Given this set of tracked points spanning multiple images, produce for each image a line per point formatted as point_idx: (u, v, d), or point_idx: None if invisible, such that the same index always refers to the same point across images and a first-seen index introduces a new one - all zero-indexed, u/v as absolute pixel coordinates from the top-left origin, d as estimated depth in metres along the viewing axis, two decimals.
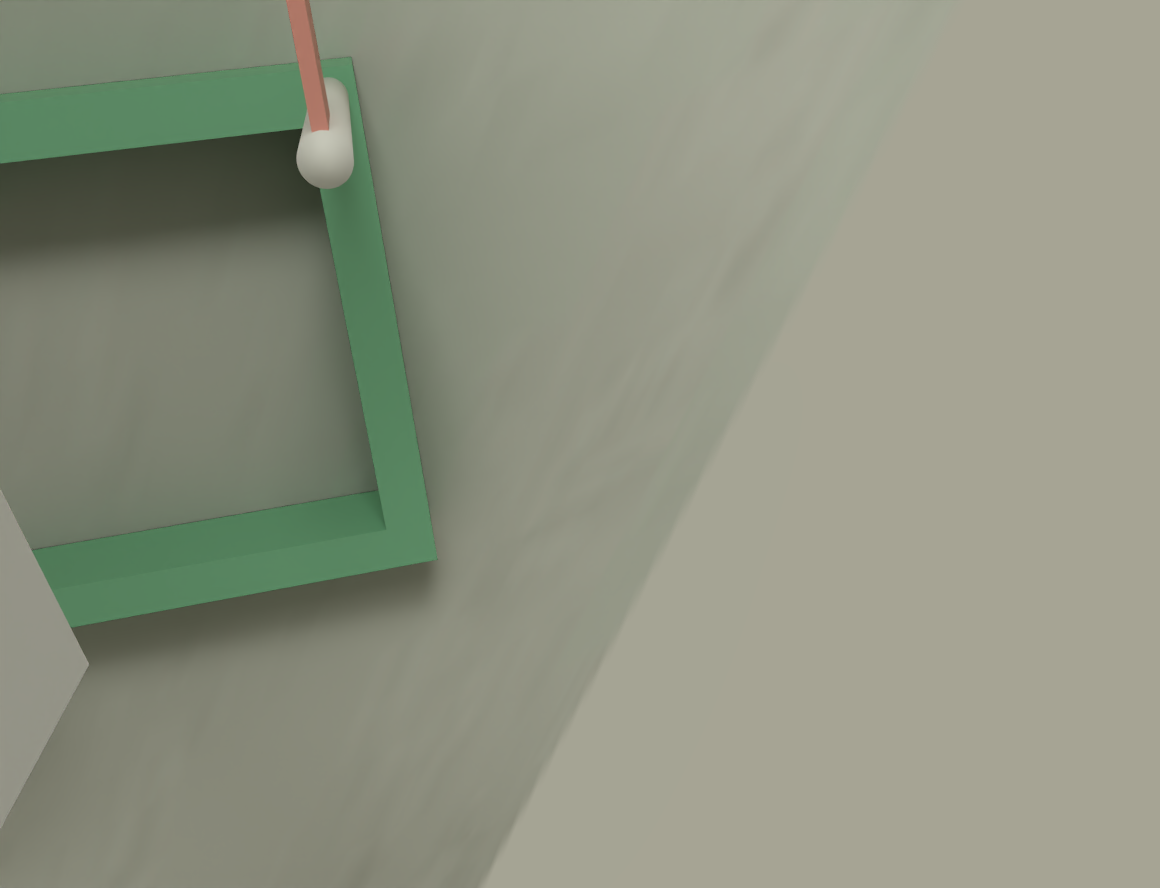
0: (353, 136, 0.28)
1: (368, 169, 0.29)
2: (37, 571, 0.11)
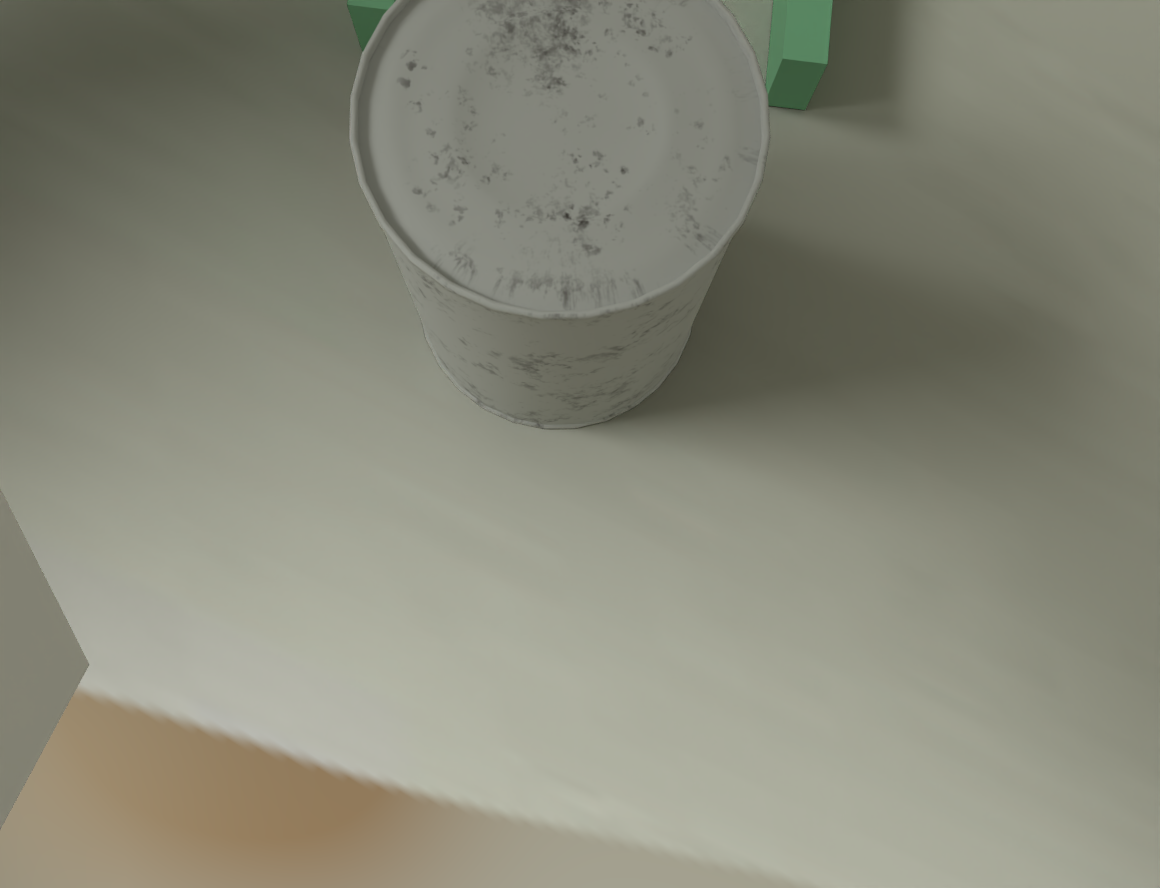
0: None
1: None
2: (37, 570, 0.11)
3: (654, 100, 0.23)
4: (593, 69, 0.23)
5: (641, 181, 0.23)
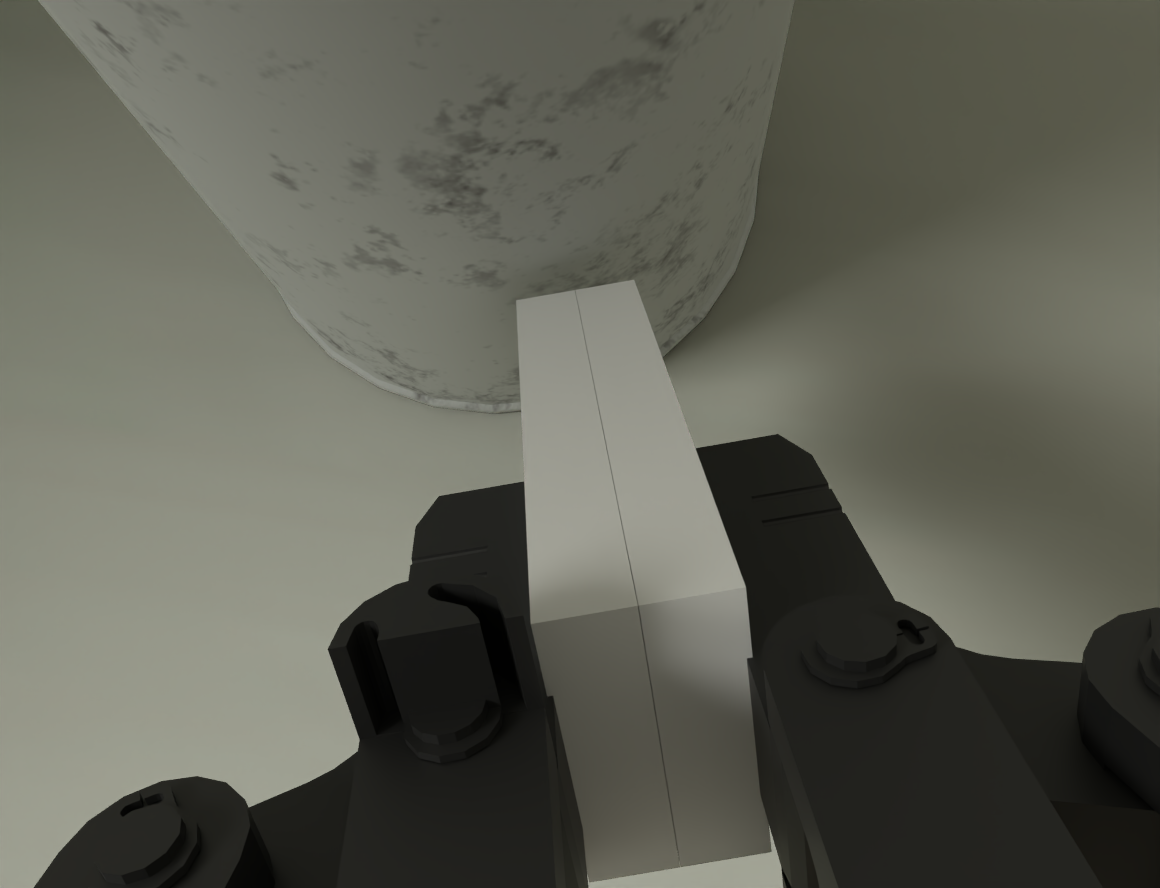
0: None
1: None
2: None
3: None
4: None
5: None
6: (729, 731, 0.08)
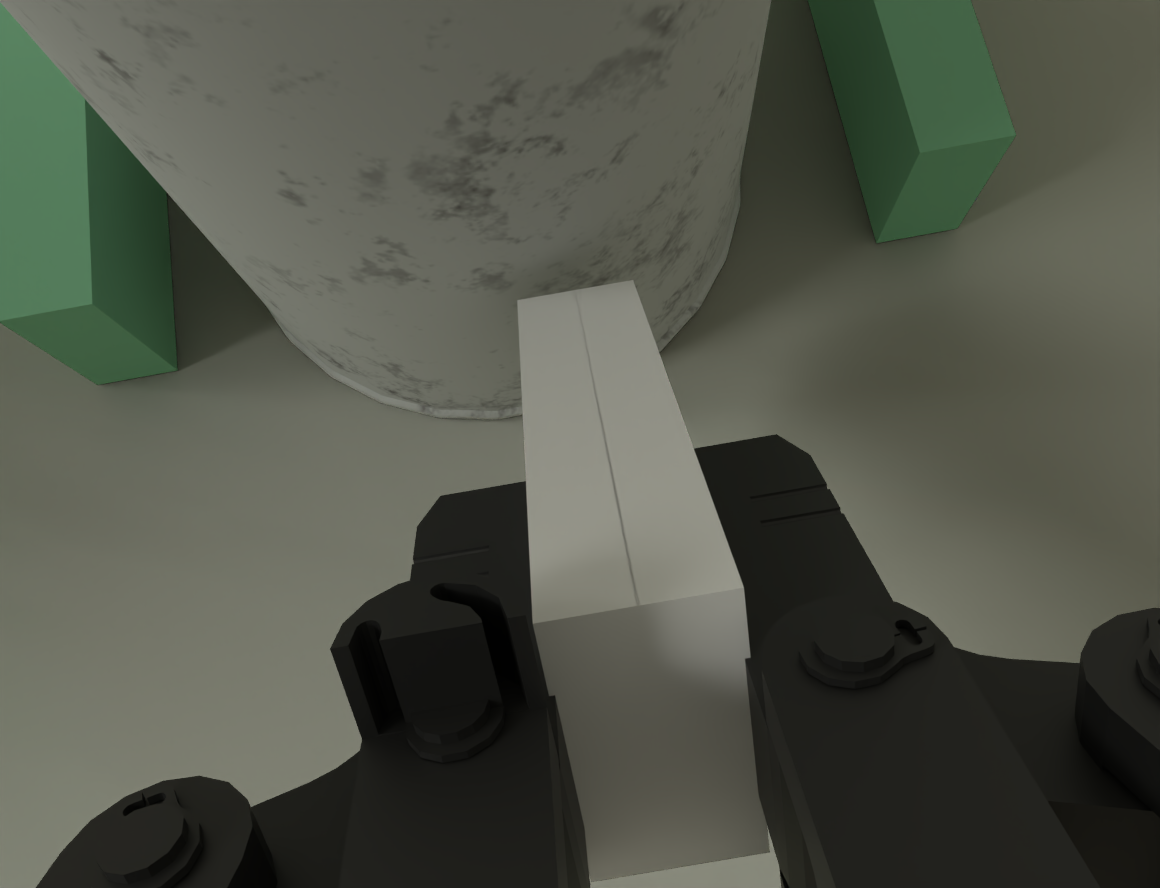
0: None
1: None
2: None
3: None
4: None
5: None
6: (727, 732, 0.08)
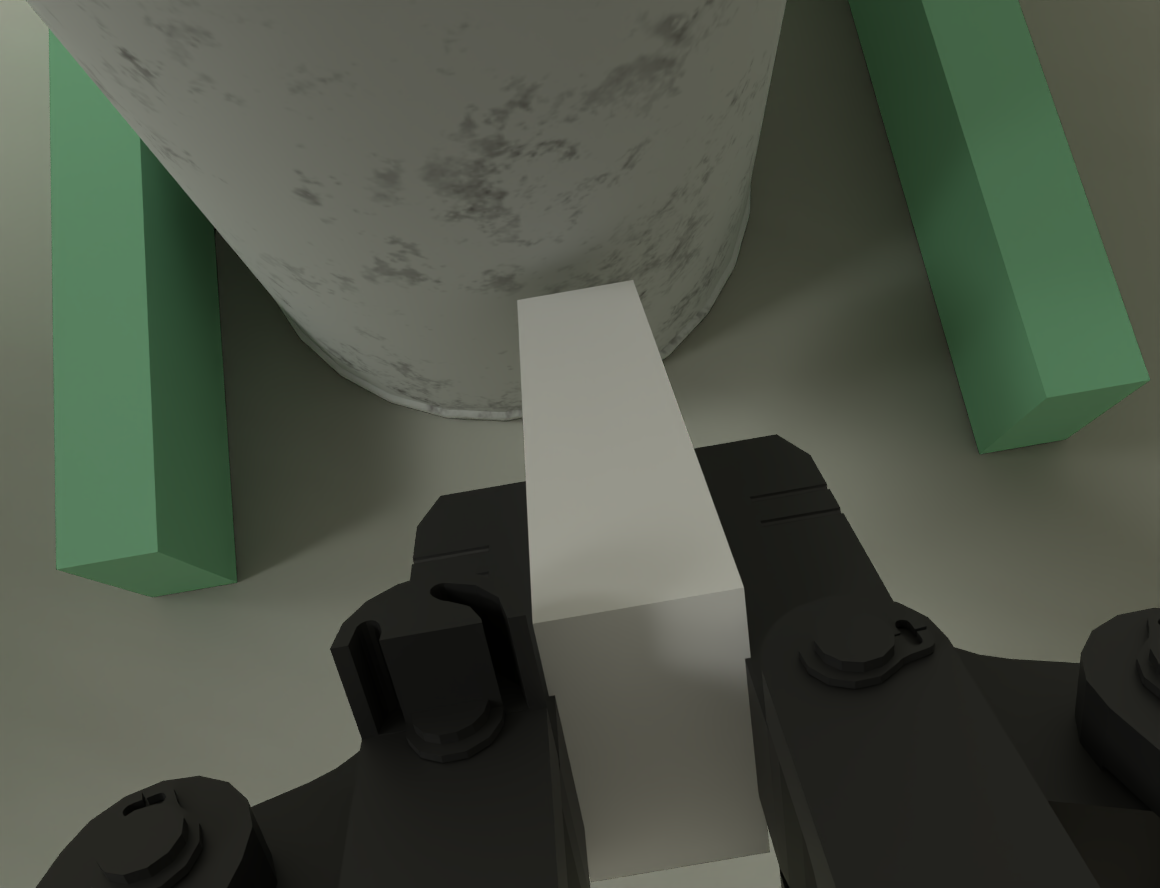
0: None
1: None
2: None
3: None
4: None
5: None
6: (726, 731, 0.08)
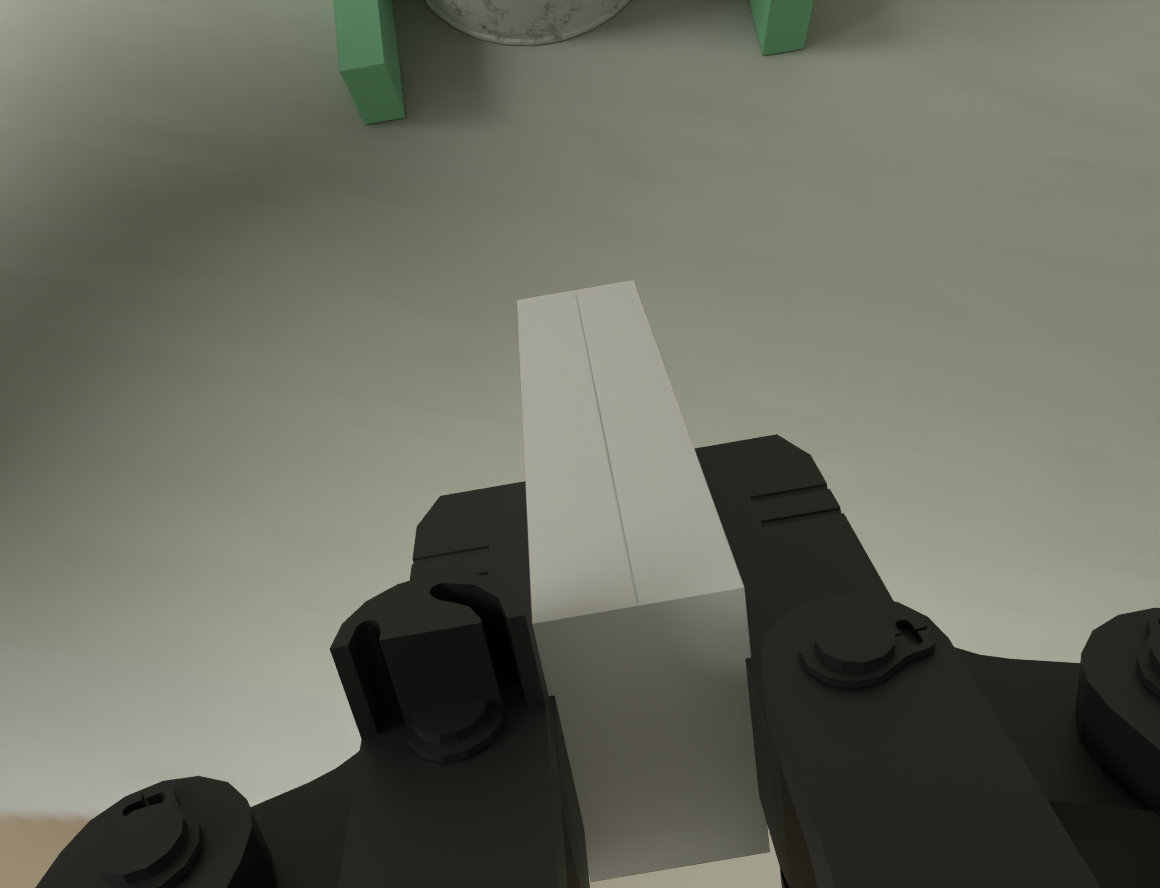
0: None
1: None
2: None
3: None
4: None
5: None
6: (727, 732, 0.08)
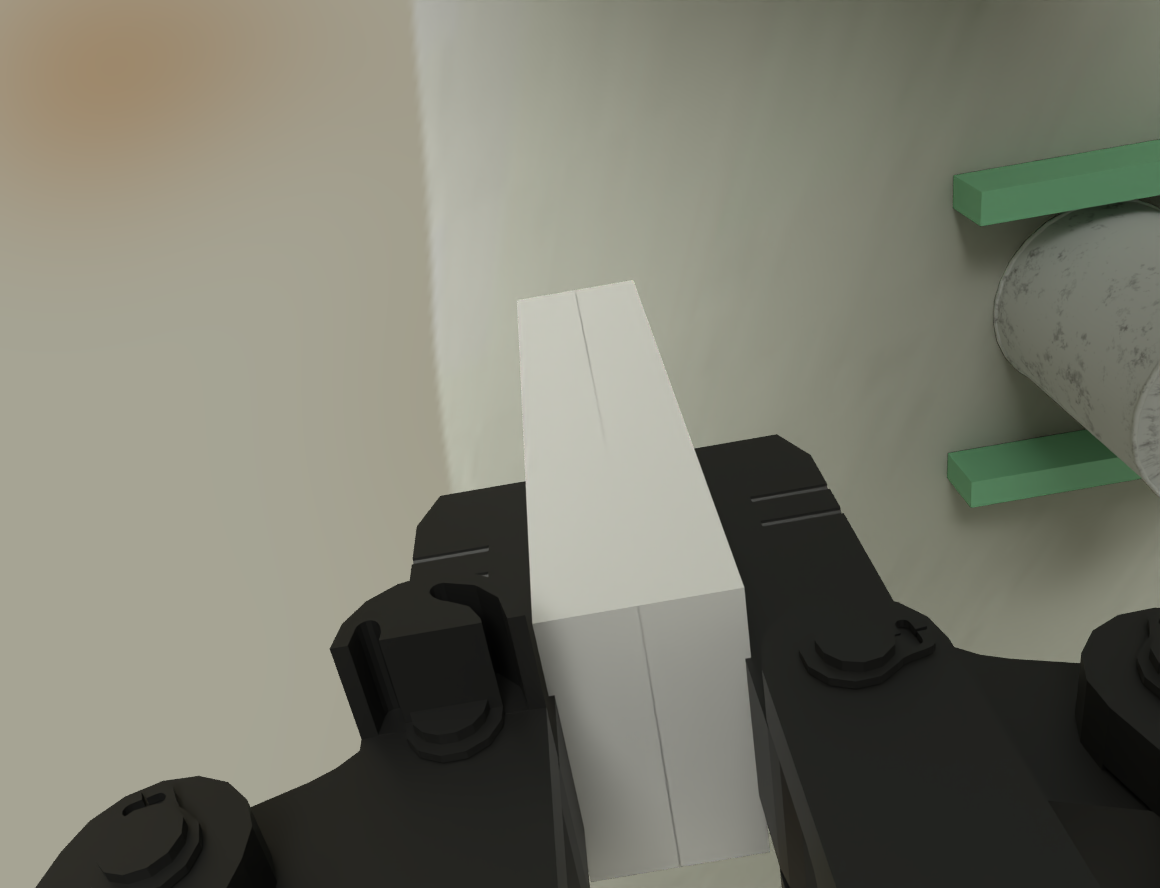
0: None
1: None
2: None
3: None
4: None
5: None
6: (727, 732, 0.08)
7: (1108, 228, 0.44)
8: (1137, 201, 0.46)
